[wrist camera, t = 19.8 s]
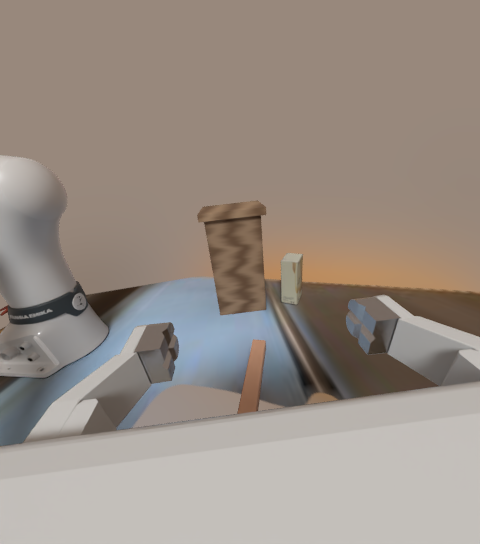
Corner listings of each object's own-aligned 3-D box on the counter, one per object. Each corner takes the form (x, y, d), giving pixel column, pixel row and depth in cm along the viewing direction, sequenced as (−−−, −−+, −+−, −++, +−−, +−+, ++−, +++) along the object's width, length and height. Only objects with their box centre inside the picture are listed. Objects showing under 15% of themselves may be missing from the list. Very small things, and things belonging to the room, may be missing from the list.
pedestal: (216, 318, 53) (197, 215, 42) (217, 293, 64) (202, 206, 53) (270, 311, 53) (265, 207, 42) (262, 288, 64) (257, 200, 53)
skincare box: (297, 305, 54) (297, 262, 49) (280, 302, 56) (280, 261, 51) (302, 293, 59) (303, 253, 54) (287, 290, 61) (287, 252, 56)
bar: (227, 483, 25) (224, 473, 24) (253, 348, 43) (253, 339, 42) (248, 488, 24) (246, 478, 23) (265, 349, 42) (265, 340, 41)
